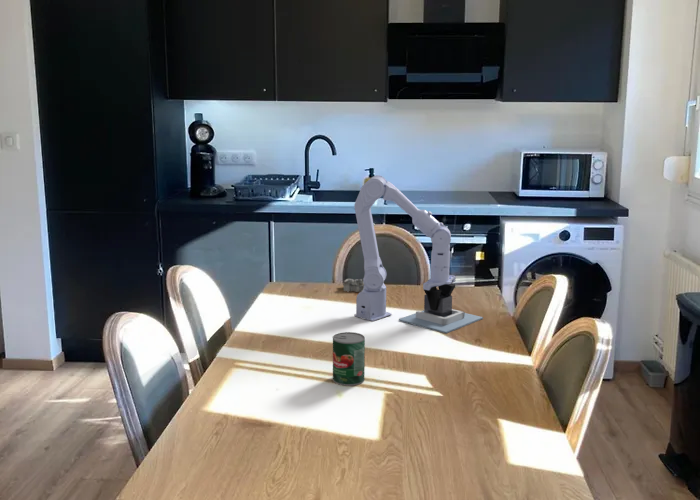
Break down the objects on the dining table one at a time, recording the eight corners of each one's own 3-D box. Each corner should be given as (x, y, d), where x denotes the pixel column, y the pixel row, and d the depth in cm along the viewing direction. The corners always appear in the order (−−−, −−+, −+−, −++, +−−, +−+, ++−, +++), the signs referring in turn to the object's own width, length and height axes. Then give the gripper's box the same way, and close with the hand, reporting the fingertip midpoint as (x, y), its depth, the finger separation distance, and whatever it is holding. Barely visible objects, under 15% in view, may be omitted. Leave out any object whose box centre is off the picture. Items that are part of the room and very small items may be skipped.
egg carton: (342, 292, 258) (342, 281, 257) (343, 287, 265) (343, 276, 264) (372, 293, 257) (372, 282, 256) (372, 287, 264) (372, 276, 264)
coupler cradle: (446, 333, 213) (446, 325, 213) (398, 320, 225) (398, 312, 224) (482, 318, 228) (483, 311, 227) (436, 307, 239) (436, 300, 239)
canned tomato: (368, 375, 181) (368, 333, 178) (359, 387, 173) (360, 343, 171) (337, 372, 183) (337, 330, 180) (328, 383, 175) (328, 340, 173)
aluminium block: (442, 317, 223) (442, 298, 222) (424, 313, 227) (424, 295, 226) (451, 314, 226) (452, 295, 225) (433, 310, 231) (433, 291, 230)
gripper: (437, 271, 216) (435, 315, 218) (464, 264, 226) (462, 305, 229) (418, 268, 220) (416, 310, 223) (445, 260, 231) (444, 301, 233)
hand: (438, 308), depth 226 cm, fingers closed on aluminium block, 5 cm apart
